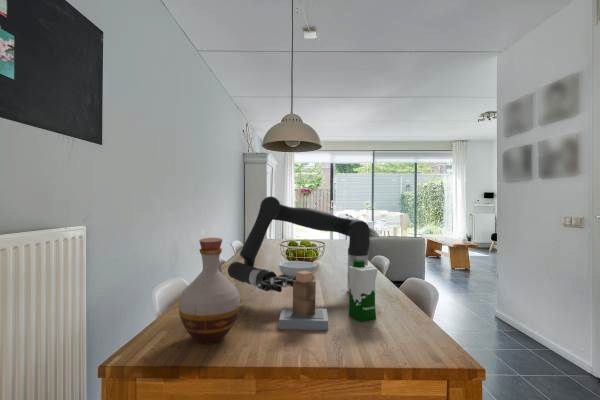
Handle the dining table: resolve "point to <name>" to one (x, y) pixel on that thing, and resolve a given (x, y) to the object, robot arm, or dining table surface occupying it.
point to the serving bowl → (296, 267)
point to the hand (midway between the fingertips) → (290, 287)
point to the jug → (209, 298)
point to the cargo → (304, 276)
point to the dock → (303, 320)
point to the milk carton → (362, 291)
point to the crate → (304, 298)
